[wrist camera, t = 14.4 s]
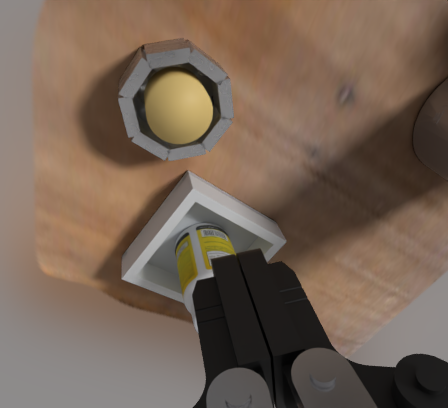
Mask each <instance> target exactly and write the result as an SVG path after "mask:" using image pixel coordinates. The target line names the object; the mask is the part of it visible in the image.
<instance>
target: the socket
mask: <svg viewBox="0 0 448 408" xmlns="http://www.w3.org/2000/svg"><path fill="white" fill-rule="evenodd" d="M144 47H145V49H142V48H141V47H140V48H139V50H138V51H137V53H136V54H135V56H134V57H133V59H132V61H131V62H130V64H129V65H128V67H127V68H126V70H125V72H124V73H123V75H122V76H121V78H120V80H119V86H118V101H119V105H120V108H121V112H122V116H123V120H124V123H125V127H126V131H127V134H128V138H129V137H131V141H132V142H133V143H135V144H137V145H139V146H140V147H142V148H144V149H145V150H147V151H149V152H151V153H152V154H154V155H156V156H158V157H159V158H161V159H163V160H164V161H165V159H166V158H167V157H168V159H169V161H173V160H178V159H183V158H188V157H193V156H198V155H203V154H206V151H205V149H206V150H208V151H209V152H210V151H211V149H212V148H213V147H214V145H215V144H216V143H217V142H218V140H219V139H220V138H221V136H222V135H223V134H224V133H225V131H226V130H227V129H228V127H229V126H230V125H231V124H232V120H231V118H234V113H233V103H232V93H231V84H230V78H229V77H228V76H227V75H228V74H227V73H226V72H225V71H224V70H223V68H222V67H221V66H220V65H219V64H218V63H217V62H216V61H215V60H214V59H212V58H211V57H210V56H208V55H207V54H206V53H205V52H203V51H202V50H201V49H200V48H198V47H197V46H196V45H194V44H193V43H192V42H191V41H189V40H187V41H185V40H184V38H180V39H174V40H168V41H162V42H156V43H150V44H144ZM167 67H182V68H185V69H187V70H189V71H191V72H192V73H194V74H195V75H196V76H197V77H198V78H199V80H200V81H201V83H202V85H203V87H204V88H205V90H206V92H207V93H208V95H209V97H210V99H211V102H212V106H213V116H212V121H211V123H210V125H209V127H208V129H207V130H206V132H205V133H204V134H203V135H202V136H201V137H199V138H198V139H196V140H194V141H192V142H190V143H186V144H173V143H169V142H166V141H164V140H162V139H160V138H159V137H158V136H157V135H155V134H154V132H153V131H152V130H151V128H150V126H149V124H148V121H147V117H146V110H145V102H144V91H145V87H146V85H147V83H148V81H149V79H150V78H151V77H152V76H153V75H154V74H155V73H156V72H158V71H159V70H161V69H164V68H167Z"/></svg>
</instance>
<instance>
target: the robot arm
mask: <svg viewBox="0 0 448 408" xmlns="http://www.w3.org/2000/svg"><path fill="white" fill-rule="evenodd" d="M413 146H414V150H415V153H416V155H417V157H418V158H419V160H420V161H421V162H422V163H423V164H425V165H426V166H427V167H429V168H430V169H431V170H433V171H434V172H436V173H437V174H438V175H440V176H441V177H443V178H444V179H446V180H447V181H448V79H446V80H445V81H444V82H443V83H442V84H441V85H440V86H439V87H437V88H436V90H435V91H434V92H433V93H432V94H431V96H430V97H429V98H428V99H427V101H426V102H425V104H424V106H423V107H422V109H421V111H420V113H419V116H418V118H417V120H416V123H415V128H414V132H413ZM211 265H212V271H213V276H214V277H210V278H205V279H201V280H197V281H196V284H195V287H194V290H193V294H192V298H193V304H194V310H195V316H196V321H197V327H198V333H199V338H200V344H201V350H202V356H203V361H204V367H205V373H206V384H205V388H204V391H203V394H202V396H201V398H200V399H199V401H198V402H197V403H196V405H195V406H194V407H193V408H274V404H275V407H276V408H448V363H447V362H445V361H443V360H441V359H439V358H437V357H434V356H430V355H426V354H412V355H409V356H406V357H404V358H403V359H402V360H400V361H399V362H398V364H397V365H396V367H381V366H368V365H362V364H358V363H355V362H352V361H350V360H348V359H346V358H345V357H343V356H342V355H341V354H339V353H338V352H337V351H336V350H335V348H334V347H333V346H332V344H331V343H330V341H329V339H328V337H327V335H326V333H325V331H324V329H323V327H322V325H321V323H320V321H319V319H318V317H317V315H316V313H315V311H314V309H313V307H312V305H311V304H310V302H309V300H308V299H307V296H306V294H305V292H304V290H303V288H302V287H301V284H300V282H299V280H298V278H297V276H296V274H295V272H294V271H293V270H292V269H290V268H289V267H288V266H287V265H285V264H284V263H283V262H282V261H280V262H276V263H272V264H267V261H266V259H265V257H264V255H263V252H262V250H261V249H260V248H258V249H253V250H248V251H244V252H239V253H236V256H235V254H231V255H226V256H222V257H217V258H213V259H211Z"/></svg>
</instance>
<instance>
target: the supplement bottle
mask: <svg viewBox="0 0 448 408" xmlns="http://www.w3.org/2000/svg"><path fill="white" fill-rule="evenodd" d="M231 254H235V251H234V248H233V246H232V243H231V240H230V238H229V236H228V234H227V232H226V231H225V230H224V229H223V228H222V227H220V226H218V225H216V224H212V223H199V224H195V225H193V226H191V227H189V228H187V229H186V230H184V231H183V232H182V233H181V234H180V235H179V237H178V238H177V240H176V243H175V256H176V262H177V267H178V273H179V279H180V284H181V290H182V296H183V301H184V304H185V306H186V308H187V310H188V311H189V312H190V313H191V315H192V319H193V324H194V327H195V330H196V331H197V332H198V327H197V321H196V316H195V310H194V304H193V298H192V294H193V290H194V287H195V284H196V281H197V280H201V279H205V278H210V277H214V276H213V271H212V265H211V259H213V258H217V257H222V256H226V255H231ZM235 256H236V254H235ZM198 334H199V333H198Z"/></svg>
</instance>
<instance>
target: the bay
mask: <svg viewBox="0 0 448 408" xmlns="http://www.w3.org/2000/svg"><path fill="white" fill-rule="evenodd" d="M199 223H212V224H216V225H218V226H220V227H222V228H223V229H224V230H225V231H226V232H227V234H228V236H229V238H230V240H231V243H232V246H233V248H234V251H235V254H236V253H239V252H244V251H248V250H253V249H258V248H260V249H261V250H262V252H263V255H264V257H265V259H266V261H267V262H268V261H269V260H270V259H271V258H272V257H273V256H274V255H275V254H276V252H277V251H278V250H279V249H280V248H281V247H282V246H283V245H284V244H285V243H286V242H287V241H286V239H285V237H284V235H283V234H282V232H281V230H280V228H279V226H278V225H277V223H276V222H275V221H273V220H272V219H270V218H268V217H267V216H265V215H263V214H262V213H260V212H258V211H256V210H255V209H253V208H251V207H250V206H248V205H246V204H245V203H243V202H241V201H239V200H238V199H236V198H234V197H233V196H231V195H229V194H228V193H226V192H224V191H222V190H221V189H219V188H217V187H216V186H214V185H212V184H211V183H209V182H207V181H205V180H204V179H202V178H200V177H199V176H197V175H195V174H193V173H192V172H190V171H187V172H186V173H185V175H184V176H183V177H182V178H181V180H180V181H179V182H178V184H177V185H176V186H175V188H174V189H173V190H172V191H171V193H170V194H169V195H168V197H167V198H166V199H165V201H164V202H163V203H162V205H161V206H160V207H159V208H158V210H157V211H156V212H155V214H154V215H153V216H152V218H151V219H150V220H149V221H148V223H147V224H146V225H145V227H144V228H143V229H142V231H141V232H140V233H139V234H138V236H137V237H136V238H135V240H134V241H133V242H132V244H131V245H130V246H129V248H128V249H127V250H126V251H125V253H124V254H123V255H122V277H121V279H122V280H125V281H127V282H130V283H133V284H135V285H138V286H140V287H143V288H146V289H148V290H151V291H153V292H156V293H159V294H161V295H164V296H166V297H169V298H172V299H174V300H177V301H179V302H182V303H184V301H183V296H182V290H181V284H180V279H179V273H178V267H177V262H176V256H175V243H176V240H177V238H178V237H179V235H180V234H181V233H182V232H183V231H184V230H186V229H187V228H189V227H191V226H193V225H195V224H199Z"/></svg>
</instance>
